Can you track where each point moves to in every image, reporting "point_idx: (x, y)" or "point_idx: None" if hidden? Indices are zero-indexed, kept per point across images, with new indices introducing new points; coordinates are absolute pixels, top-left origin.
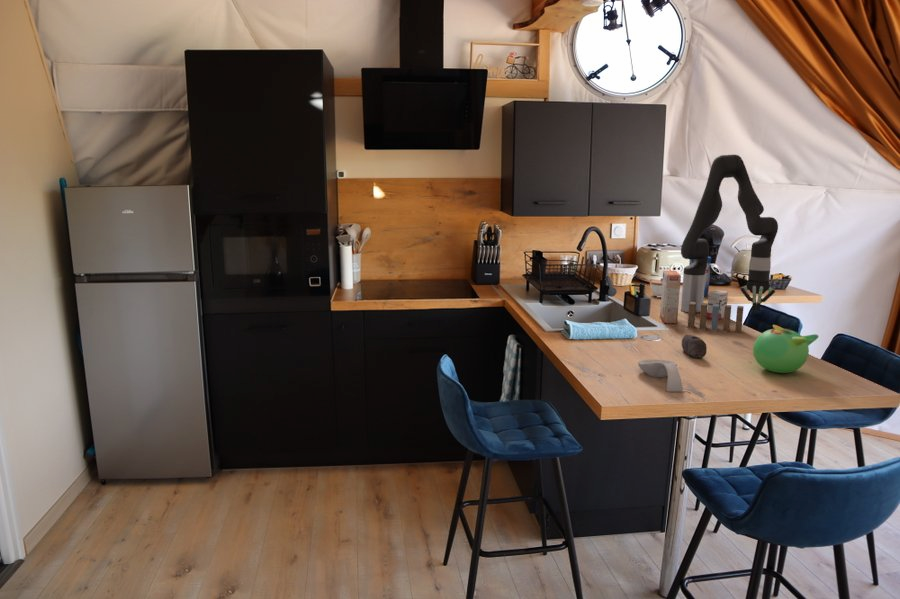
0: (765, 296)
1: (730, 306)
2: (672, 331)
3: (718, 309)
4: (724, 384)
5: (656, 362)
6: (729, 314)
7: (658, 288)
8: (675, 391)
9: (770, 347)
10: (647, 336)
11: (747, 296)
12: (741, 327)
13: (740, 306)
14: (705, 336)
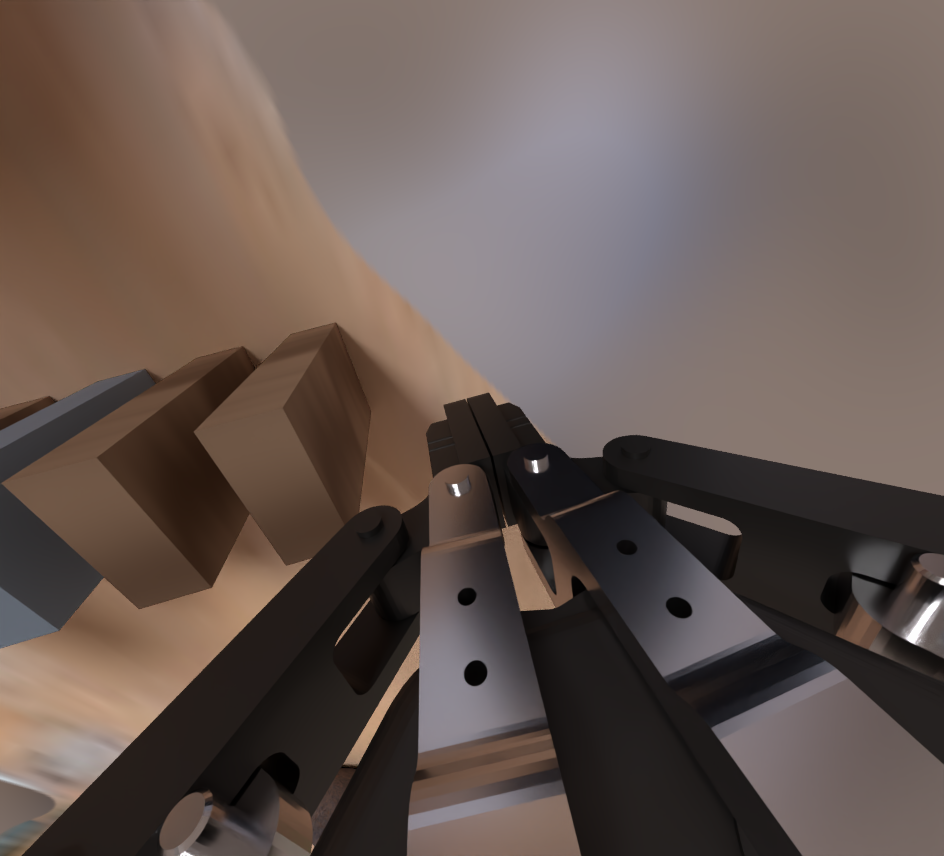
0: (696, 506)
1: (157, 538)
2: (32, 640)
3: (86, 593)
4: None
5: None
6: (236, 525)
7: None
8: None
9: None
10: (58, 760)
11: (369, 672)
12: (368, 430)
13: (257, 452)
14: (254, 606)
